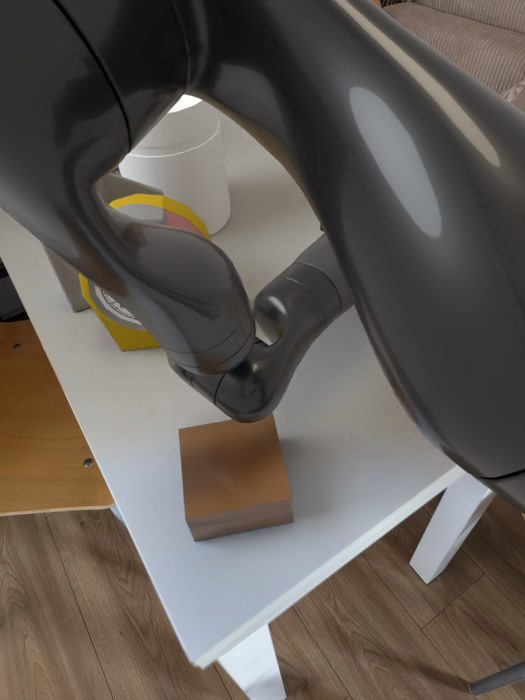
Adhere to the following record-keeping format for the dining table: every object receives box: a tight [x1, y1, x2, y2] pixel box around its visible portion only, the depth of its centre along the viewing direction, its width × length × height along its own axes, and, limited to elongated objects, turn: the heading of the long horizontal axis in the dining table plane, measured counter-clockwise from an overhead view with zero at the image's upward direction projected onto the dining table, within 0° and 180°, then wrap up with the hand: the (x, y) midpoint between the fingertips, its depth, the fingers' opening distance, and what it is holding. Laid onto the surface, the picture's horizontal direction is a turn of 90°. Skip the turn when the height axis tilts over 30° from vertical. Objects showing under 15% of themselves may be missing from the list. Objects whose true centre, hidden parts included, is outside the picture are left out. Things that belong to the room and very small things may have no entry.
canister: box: [118, 95, 232, 237], centre depth 79 cm, size 16×16×20 cm
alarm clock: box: [79, 194, 213, 352], centre depth 62 cm, size 15×8×18 cm, turn 95°
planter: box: [39, 172, 164, 313], centre depth 69 cm, size 16×8×19 cm, turn 115°
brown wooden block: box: [177, 411, 294, 542], centre depth 51 cm, size 10×10×5 cm
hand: (416, 197), depth 61 cm, fingers open, 8 cm apart
